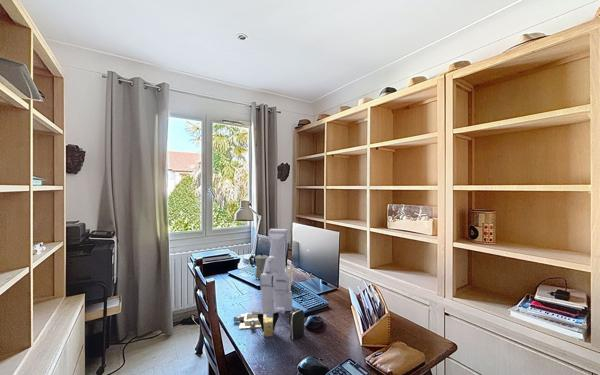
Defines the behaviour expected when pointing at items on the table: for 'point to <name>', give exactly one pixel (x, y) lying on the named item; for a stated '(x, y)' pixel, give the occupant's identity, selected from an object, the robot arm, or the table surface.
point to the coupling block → (268, 327)
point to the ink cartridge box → (290, 272)
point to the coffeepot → (259, 264)
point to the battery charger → (296, 323)
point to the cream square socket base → (249, 321)
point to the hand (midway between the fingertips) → (268, 329)
